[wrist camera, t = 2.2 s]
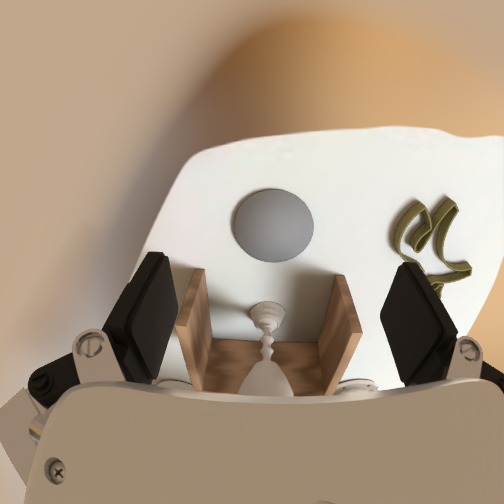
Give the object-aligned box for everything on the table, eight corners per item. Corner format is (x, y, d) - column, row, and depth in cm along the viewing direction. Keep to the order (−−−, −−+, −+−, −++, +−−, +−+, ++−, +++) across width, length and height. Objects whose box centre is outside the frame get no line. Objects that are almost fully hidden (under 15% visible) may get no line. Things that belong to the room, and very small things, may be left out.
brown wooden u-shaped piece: (344, 275, 34) (362, 332, 26) (323, 347, 42) (330, 398, 34) (195, 268, 35) (175, 325, 27) (206, 342, 43) (195, 393, 35)
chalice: (292, 295, 36) (300, 419, 21) (293, 328, 40) (299, 440, 25) (238, 298, 37) (222, 420, 22) (245, 331, 41) (235, 441, 26)
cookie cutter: (468, 274, 34) (473, 281, 32) (411, 311, 38) (415, 319, 36) (445, 181, 27) (453, 187, 25) (372, 229, 31) (377, 237, 29)
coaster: (317, 192, 29) (318, 194, 28) (307, 261, 33) (308, 264, 33) (234, 188, 29) (233, 189, 28) (235, 258, 34) (234, 260, 33)
